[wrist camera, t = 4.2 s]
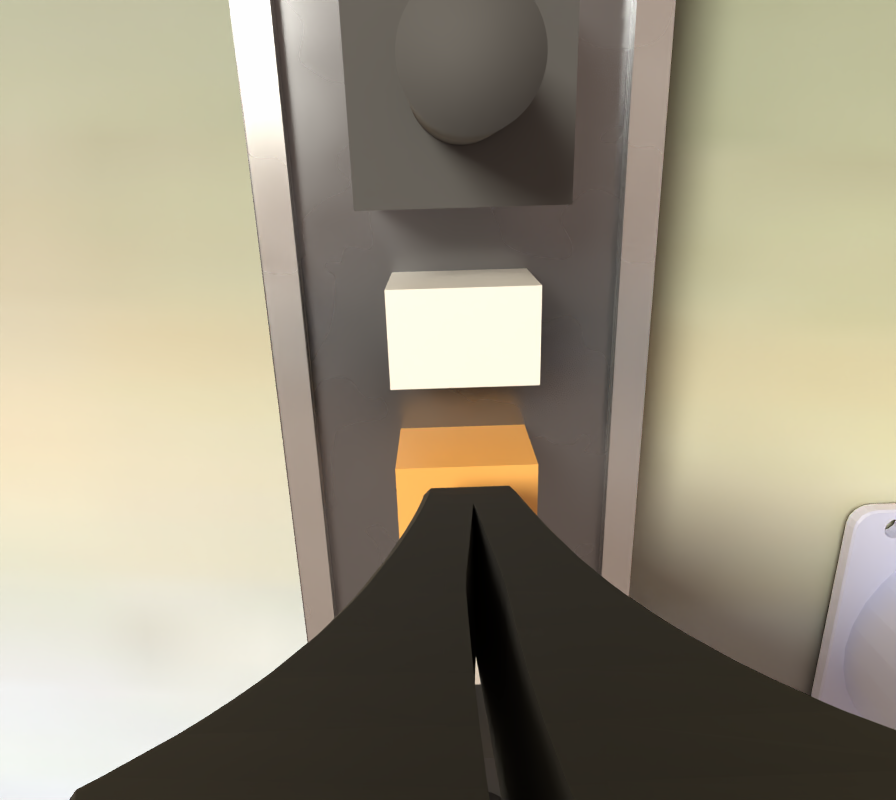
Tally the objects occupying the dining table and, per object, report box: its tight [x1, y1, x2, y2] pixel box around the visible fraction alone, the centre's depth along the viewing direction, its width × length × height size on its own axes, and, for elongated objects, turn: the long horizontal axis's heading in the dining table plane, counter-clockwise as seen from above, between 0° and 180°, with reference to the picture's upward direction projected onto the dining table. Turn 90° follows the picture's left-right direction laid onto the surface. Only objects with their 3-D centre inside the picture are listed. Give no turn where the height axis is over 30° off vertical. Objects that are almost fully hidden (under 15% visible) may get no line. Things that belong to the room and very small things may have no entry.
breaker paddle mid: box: [395, 425, 538, 539], centre depth 12 cm, size 2×2×2 cm
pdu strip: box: [229, 0, 676, 642], centre depth 14 cm, size 7×24×3 cm, turn 2°
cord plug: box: [338, 0, 580, 211], centre depth 8 cm, size 3×3×5 cm
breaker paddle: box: [384, 268, 542, 390], centre depth 11 cm, size 2×2×2 cm
